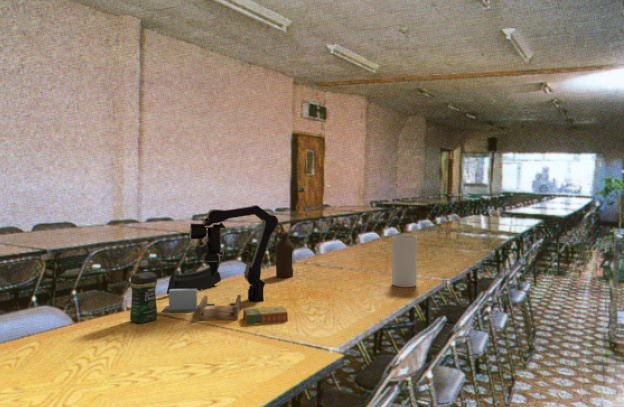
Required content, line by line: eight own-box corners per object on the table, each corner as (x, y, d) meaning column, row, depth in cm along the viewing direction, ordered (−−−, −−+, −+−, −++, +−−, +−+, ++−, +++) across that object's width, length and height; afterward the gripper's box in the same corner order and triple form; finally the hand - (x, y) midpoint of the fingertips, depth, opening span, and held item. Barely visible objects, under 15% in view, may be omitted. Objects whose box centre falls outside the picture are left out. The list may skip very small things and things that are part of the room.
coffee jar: (140, 325, 176) (139, 276, 175) (126, 321, 180) (126, 273, 179) (161, 319, 184) (160, 271, 183) (148, 315, 188) (147, 269, 187)
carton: (287, 322, 182) (287, 311, 181) (246, 325, 177) (246, 314, 177) (283, 315, 190) (283, 305, 189) (243, 319, 185) (243, 308, 185)
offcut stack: (234, 313, 191) (234, 304, 191) (233, 318, 185) (233, 309, 185) (204, 314, 190) (204, 305, 190) (202, 318, 184) (202, 309, 184)
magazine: (165, 278, 215) (214, 252, 237) (161, 277, 217) (210, 251, 239) (175, 312, 220) (222, 282, 242) (171, 310, 222) (218, 281, 244)
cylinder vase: (389, 286, 241) (390, 237, 239) (394, 281, 252) (395, 234, 251) (414, 288, 236) (414, 239, 235) (418, 283, 248) (419, 236, 246)
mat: (204, 306, 202) (204, 305, 202) (200, 312, 193) (200, 311, 193) (166, 306, 201) (166, 306, 201) (161, 312, 192) (161, 312, 192)
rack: (240, 306, 202) (240, 294, 202) (237, 319, 183) (237, 307, 183) (204, 307, 201) (204, 295, 201) (197, 320, 182) (197, 307, 182)
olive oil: (276, 278, 258) (276, 233, 256) (273, 274, 268) (273, 231, 267) (295, 277, 260) (295, 232, 259) (292, 274, 270) (292, 230, 269)
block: (197, 307, 199) (197, 288, 199) (196, 309, 196) (195, 290, 196) (170, 307, 198) (170, 289, 198) (169, 309, 195) (168, 290, 195)
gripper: (198, 235, 214) (199, 270, 215) (191, 241, 195) (192, 278, 196) (223, 235, 215) (223, 269, 215) (218, 241, 196) (219, 278, 197)
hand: (214, 274), depth 206 cm, fingers open, 9 cm apart
